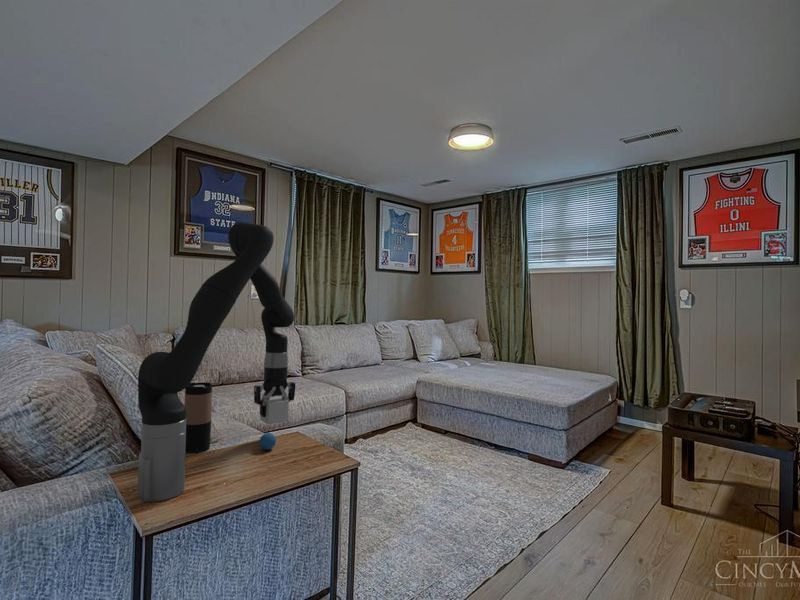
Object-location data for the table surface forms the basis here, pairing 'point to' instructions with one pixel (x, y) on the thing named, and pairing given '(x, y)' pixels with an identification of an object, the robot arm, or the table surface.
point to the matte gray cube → (276, 411)
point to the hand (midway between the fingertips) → (274, 414)
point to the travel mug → (198, 417)
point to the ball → (267, 441)
